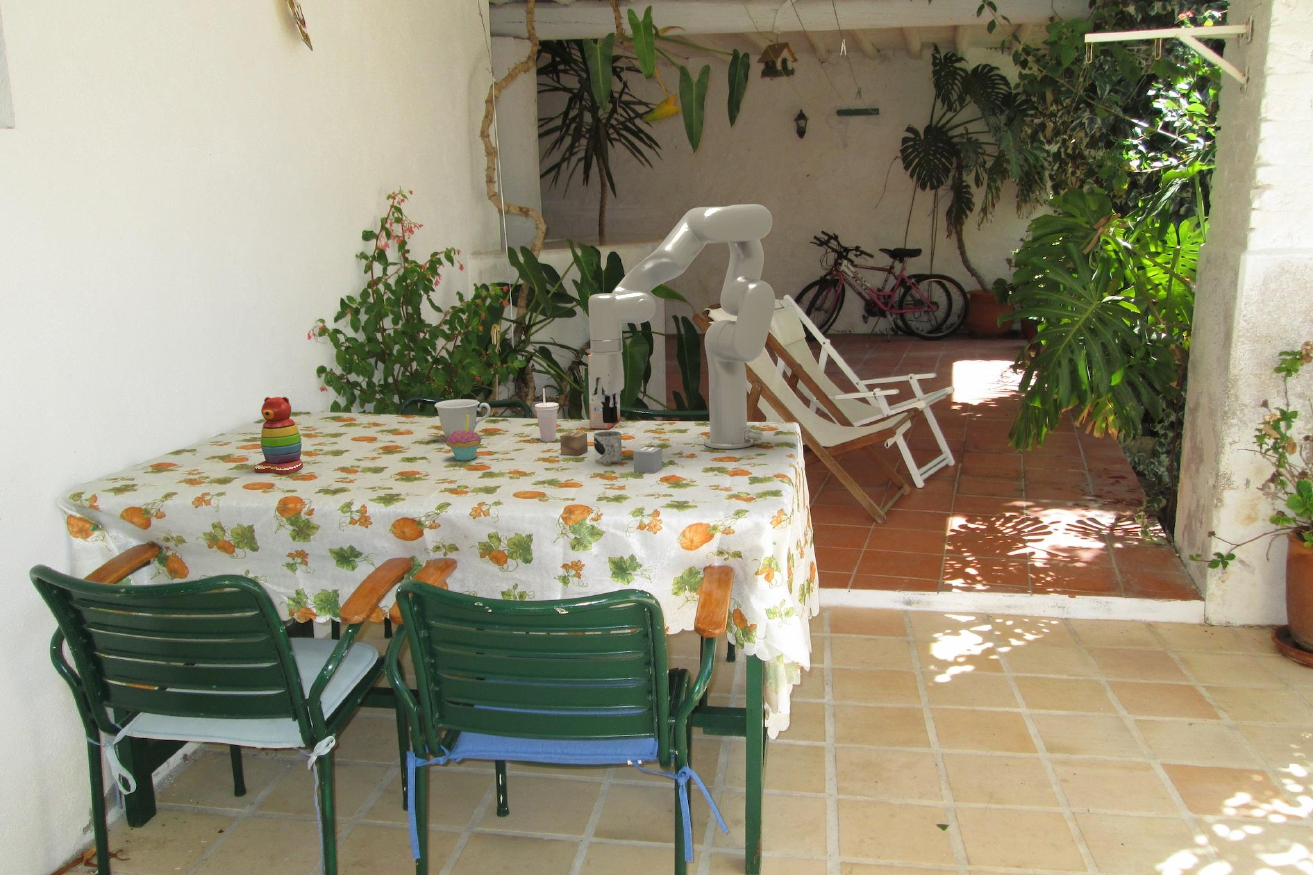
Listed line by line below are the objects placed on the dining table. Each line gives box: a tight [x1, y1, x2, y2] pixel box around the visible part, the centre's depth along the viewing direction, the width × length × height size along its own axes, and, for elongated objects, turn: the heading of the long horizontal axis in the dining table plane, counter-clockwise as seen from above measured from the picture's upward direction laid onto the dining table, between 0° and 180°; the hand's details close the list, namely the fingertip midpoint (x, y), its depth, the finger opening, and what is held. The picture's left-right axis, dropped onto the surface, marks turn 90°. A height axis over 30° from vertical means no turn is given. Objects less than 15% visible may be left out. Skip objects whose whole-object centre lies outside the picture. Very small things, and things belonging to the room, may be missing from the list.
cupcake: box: [445, 412, 482, 461], centre depth 261 cm, size 9×8×12 cm
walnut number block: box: [559, 431, 589, 457], centre depth 264 cm, size 5×5×5 cm
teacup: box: [434, 398, 492, 437], centre depth 284 cm, size 12×15×10 cm
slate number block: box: [632, 446, 663, 474], centre depth 244 cm, size 5×5×5 cm
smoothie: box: [534, 387, 560, 443], centre depth 279 cm, size 6×6×14 cm
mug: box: [593, 430, 623, 465], centre depth 253 cm, size 10×7×7 cm, turn 23°
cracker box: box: [587, 353, 621, 430], centre depth 297 cm, size 14×6×21 cm, turn 168°
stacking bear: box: [253, 396, 304, 475], centre depth 255 cm, size 11×10×18 cm
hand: (610, 422), depth 252 cm, fingers closed
